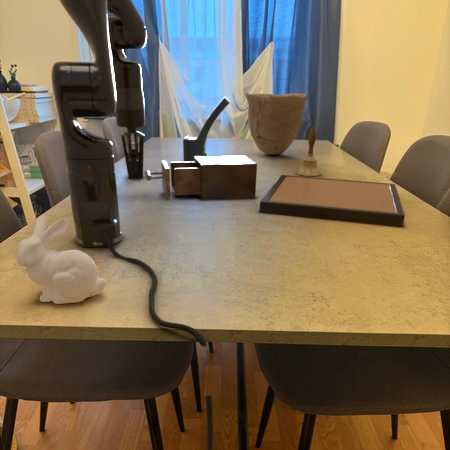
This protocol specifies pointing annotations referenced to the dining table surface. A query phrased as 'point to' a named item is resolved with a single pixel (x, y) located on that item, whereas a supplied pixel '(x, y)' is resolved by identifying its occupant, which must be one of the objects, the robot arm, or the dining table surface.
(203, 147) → the dark grey curved piece
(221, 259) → the dining table surface
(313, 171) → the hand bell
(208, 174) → the cabinet
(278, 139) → the clay pot
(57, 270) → the rabbit
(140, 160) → the drinking cup
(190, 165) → the drawer
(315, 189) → the cork board
